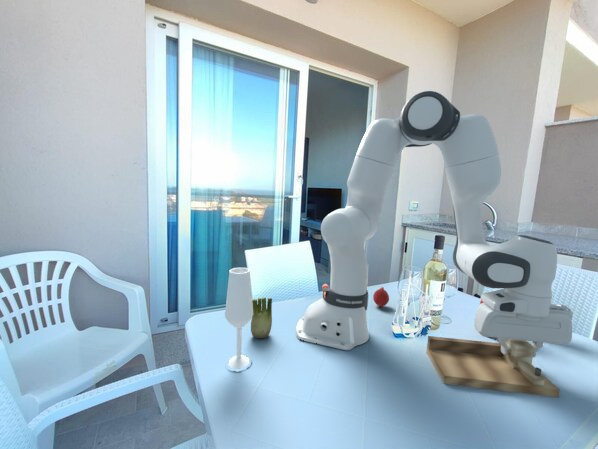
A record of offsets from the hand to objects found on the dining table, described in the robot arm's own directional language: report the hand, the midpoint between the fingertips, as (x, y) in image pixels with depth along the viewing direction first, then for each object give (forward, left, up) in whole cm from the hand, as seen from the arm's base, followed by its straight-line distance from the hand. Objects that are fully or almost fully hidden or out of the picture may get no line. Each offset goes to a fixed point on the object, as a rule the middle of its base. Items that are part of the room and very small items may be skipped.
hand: (517, 354), depth 67 cm
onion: (-28, +32, -5) cm, 43 cm away
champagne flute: (-69, -10, -5) cm, 70 cm away
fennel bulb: (-67, +3, -5) cm, 67 cm away
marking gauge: (0, -3, -2) cm, 4 cm away
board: (-8, -2, -5) cm, 9 cm away
